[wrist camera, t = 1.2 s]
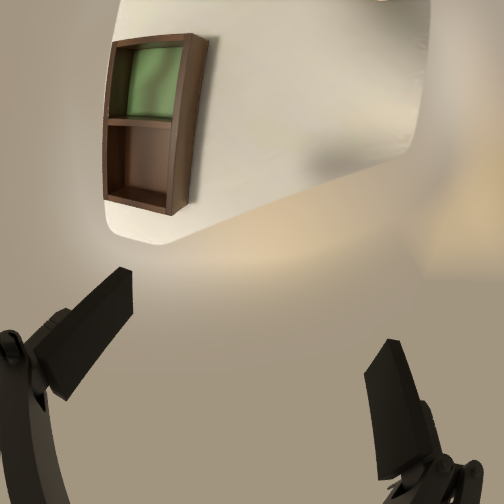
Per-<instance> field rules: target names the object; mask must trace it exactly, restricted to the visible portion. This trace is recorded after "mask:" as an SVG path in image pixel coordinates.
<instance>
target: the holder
mask: <svg viewBox="0 0 504 504" xmlns="http://www.w3.org/2000/svg"><path fill="white" fill-rule="evenodd" d="M208 44H209V41H207V40H205V39H203V38H201V37H199V36H197V35H195V34H193V33H187V34H169V35H157V36H148V37H140V38H133V39H126V40H120V41H115V42H112V47H111V53H110V60H109V66H108V74H107V82H106V92H105V103H104V117H103V142H102V173H103V198H104V200H108V201H112V202H116V203H121V204H125V205H129V206H133V207H137V208H141V209H145V210H149V211H153V212H157V213H161V214H166V215H169V216H173V215H174V214H175V213H176V212H178V211H179V210H180V209H182V208H183V207H184V206H186V205H187V204H188V196H189V184H190V173H191V162H192V152H193V143H194V135H195V126H196V119H197V111H198V104H199V97H200V90H201V84H202V78H203V71H204V66H205V60H206V54H207V49H208Z"/></svg>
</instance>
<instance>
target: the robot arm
mask: <svg viewBox="0 0 504 504" xmlns="http://www.w3.org/2000/svg"><path fill="white" fill-rule="evenodd" d="M132 314H133V295H132V271H131V270H128V269H125V268H122V267H119V268H118V269H116V270H115V271H114V272H113V273H112V274H111V275H110V276H108V277H107V278H106V279H105V280H104V281H103V282H102V283H101V284H100V285H99V286H97V287H96V288H95V289H94V290H93V291H92V292H91V293H90V294H89V295H87V296H86V297H85V298H84V299H83V300H82V301H81V302H80V303H79V304H78V305H77V306H76V307H75V308H74V309H73V310H72V311H71V310H69V309H67V308H64V309H62V310H60V311H58V312H56V313H55V314H54V315H53V316H52V317H51V318H50V319H49V321H46V323H44V325H43V326H41V328H39V329H38V330H37V331H36V332H35V333H34V334H33V335H32V336H31V337H30V338H29V339H28V340H27V341H26V342H25V343H24V344H23V341H22V339H21V336H20V335H19V333H18V332H16V331H14V330H6V331H3V332H1V333H0V451H1V453H2V461H3V468H4V474H5V479H6V485H7V489H8V494H9V498H10V502H11V504H70V502H69V499H68V496H67V493H66V490H65V486H64V483H63V479H62V476H61V472H60V468H59V464H58V460H57V456H56V451H55V446H54V441H53V435H52V429H51V423H50V416H49V408H48V400H47V392H46V389H47V387H48V386H50V388H51V390H52V391H53V393H54V394H56V395H57V396H59V397H60V398H62V399H63V400H65V401H67V400H68V399H69V397H70V396H71V394H72V393H73V392H74V390H75V389H76V387H77V386H78V385H79V383H80V382H81V380H82V379H83V378H84V376H85V375H86V374H87V372H88V371H89V370H90V368H91V367H92V365H93V364H94V363H95V362H96V360H97V359H98V358H99V356H100V355H101V354H102V352H103V351H104V350H105V348H106V347H107V346H108V345H109V343H110V342H111V341H112V339H113V338H114V337H115V335H116V334H117V333H118V332H119V331H120V329H121V328H122V327H123V326H124V324H125V323H126V322H127V321H128V319H129V318H130V317H131V316H132ZM364 378H365V383H366V389H367V394H368V400H369V407H370V413H371V420H372V427H373V434H374V443H375V450H376V461H377V472H378V480H390V479H394V478H395V477H397V476H399V475H400V474H401V478H402V479H401V480H399V481H398V482H396V483H394V484H392V485H391V486H389V487H388V488H387V489H388V490H389V489H391V488H393V487H394V488H393V490H392V491H391V493H390V494H389V496H388V497H387V498H386V500H385V501H384V503H383V504H480V498H481V491H482V484H483V475H484V471H483V467H482V465H481V463H480V462H479V461H477V460H472V461H470V462H468V463H467V464H466V465H459V464H455V463H454V462H453V460H452V458H451V457H450V456H449V455H447V454H443V453H442V450H441V446H440V442H439V438H438V434H437V430H436V427H435V423H434V420H433V416H432V413H431V410H430V408H429V406H428V405H427V403H426V402H425V401H422V400H420V399H419V396H418V392H417V389H416V386H415V383H414V380H413V377H412V374H411V371H410V368H409V365H408V363H407V360H406V357H405V354H404V352H403V349H402V346H401V343H400V341H398V340H392V339H387V340H386V342H385V344H384V345H383V347H382V348H381V350H380V351H379V353H378V354H377V356H376V357H375V359H374V360H373V362H372V363H371V365H370V366H369V368H368V369H367V371H366V372H365V373H364ZM453 497H454V500H453V502H452V503H450V500H451V498H453Z"/></svg>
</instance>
